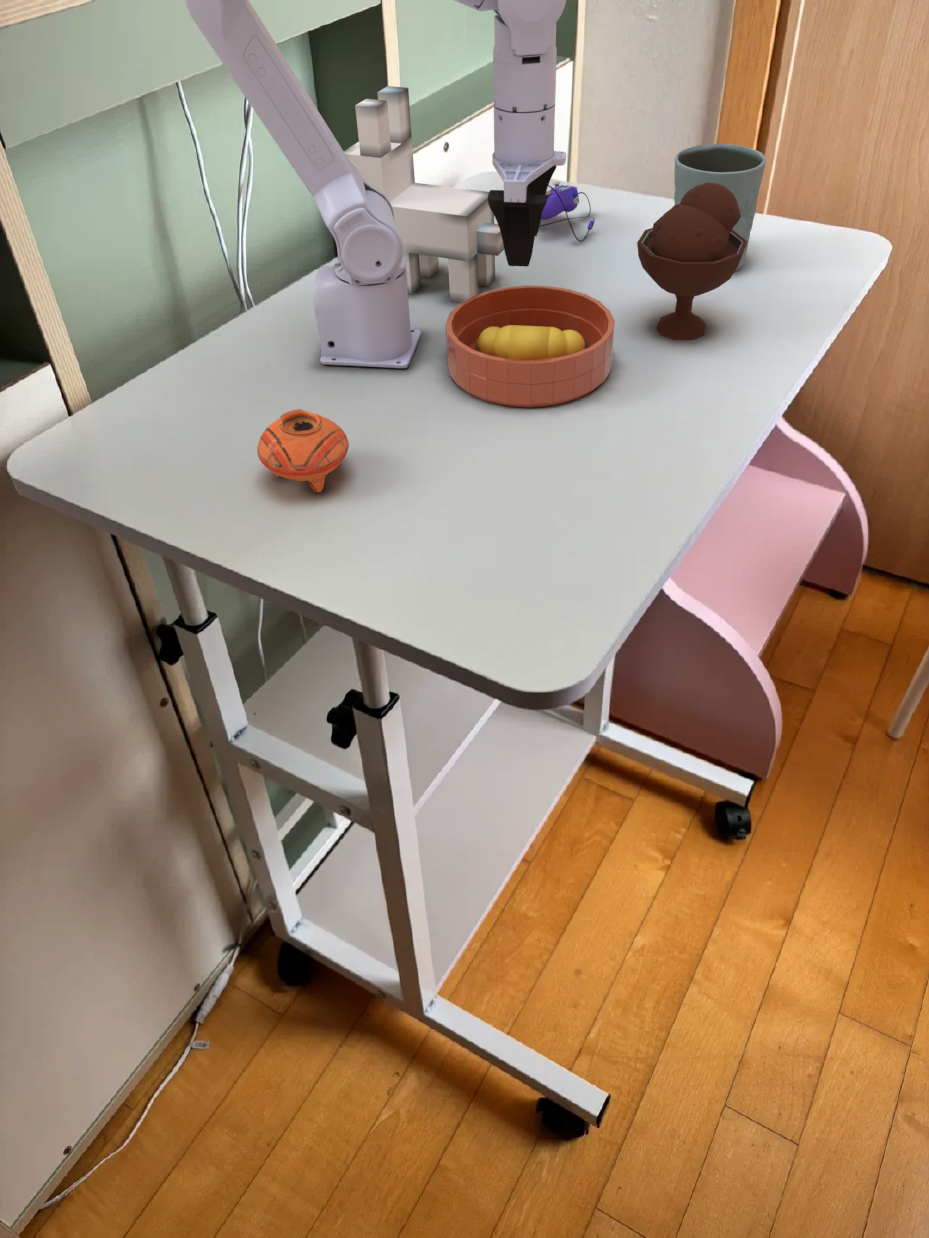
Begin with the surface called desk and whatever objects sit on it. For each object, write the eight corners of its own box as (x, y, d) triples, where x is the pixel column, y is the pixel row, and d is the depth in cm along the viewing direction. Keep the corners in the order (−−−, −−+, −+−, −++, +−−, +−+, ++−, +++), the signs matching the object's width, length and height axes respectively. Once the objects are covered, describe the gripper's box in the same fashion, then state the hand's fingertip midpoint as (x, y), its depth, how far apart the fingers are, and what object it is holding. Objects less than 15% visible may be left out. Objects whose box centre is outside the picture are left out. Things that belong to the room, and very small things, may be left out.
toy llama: (489, 307, 110) (486, 118, 96) (356, 285, 115) (334, 103, 102) (514, 281, 115) (514, 97, 101) (384, 261, 120) (368, 84, 106)
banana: (469, 368, 99) (468, 334, 96) (476, 347, 102) (475, 314, 99) (587, 374, 97) (589, 339, 94) (590, 353, 100) (592, 319, 97)
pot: (297, 439, 90) (301, 380, 85) (361, 480, 88) (369, 422, 83) (237, 478, 85) (237, 418, 80) (303, 523, 83) (308, 464, 78)
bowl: (434, 404, 95) (432, 358, 91) (462, 326, 107) (460, 282, 103) (606, 414, 92) (609, 367, 89) (614, 332, 104) (618, 288, 101)
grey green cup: (743, 282, 112) (761, 175, 104) (657, 274, 115) (668, 169, 106) (752, 248, 119) (770, 145, 111) (670, 241, 122) (682, 140, 113)
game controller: (507, 187, 127) (581, 165, 126) (522, 251, 130) (593, 230, 129) (514, 190, 118) (593, 166, 117) (530, 258, 121) (607, 235, 121)
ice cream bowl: (661, 297, 110) (677, 160, 100) (750, 323, 105) (776, 181, 94) (610, 333, 104) (621, 190, 94) (702, 362, 99) (724, 214, 89)
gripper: (560, 129, 83) (555, 281, 92) (573, 82, 93) (568, 223, 103) (480, 128, 84) (483, 278, 93) (502, 82, 94) (503, 221, 104)
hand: (523, 249), depth 98 cm, fingers open, 7 cm apart
